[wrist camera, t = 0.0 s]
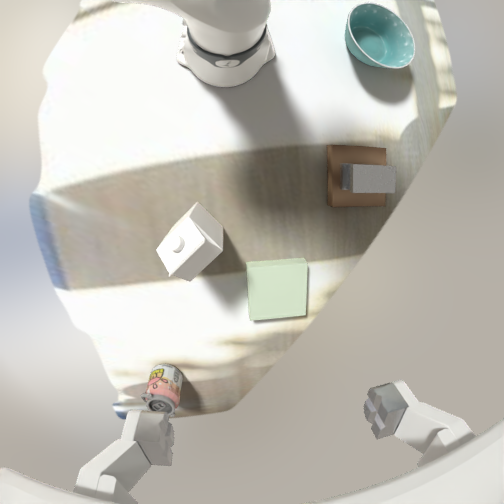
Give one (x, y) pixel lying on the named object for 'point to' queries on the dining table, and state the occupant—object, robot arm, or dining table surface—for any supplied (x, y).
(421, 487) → the robot arm
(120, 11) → the dining table surface
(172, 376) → the beverage can
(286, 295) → the stand
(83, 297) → the dining table surface
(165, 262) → the milk carton
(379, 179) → the block
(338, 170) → the stand
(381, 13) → the bowl
